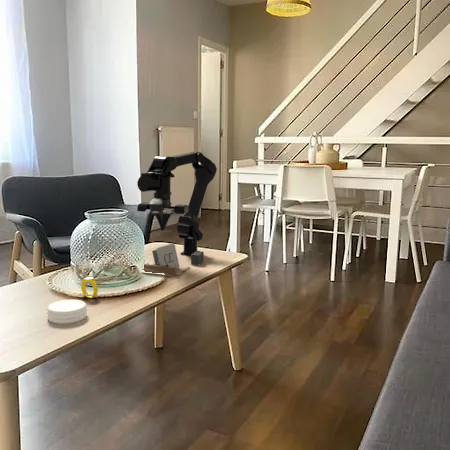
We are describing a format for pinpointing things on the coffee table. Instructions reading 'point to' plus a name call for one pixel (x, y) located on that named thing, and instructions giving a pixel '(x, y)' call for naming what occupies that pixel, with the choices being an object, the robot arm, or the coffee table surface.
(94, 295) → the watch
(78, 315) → the coaster
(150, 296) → the coffee table surface
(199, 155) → the robot arm
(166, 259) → the electrical switch
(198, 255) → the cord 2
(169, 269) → the bay
